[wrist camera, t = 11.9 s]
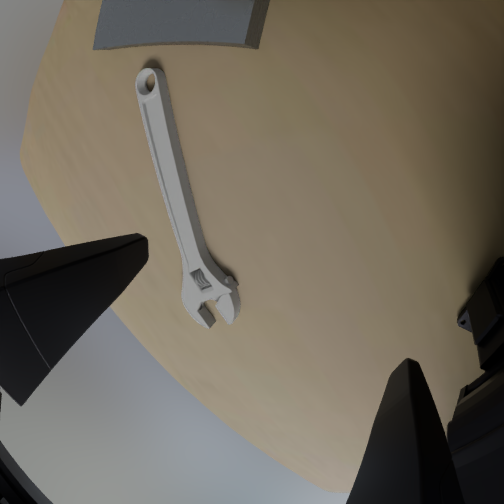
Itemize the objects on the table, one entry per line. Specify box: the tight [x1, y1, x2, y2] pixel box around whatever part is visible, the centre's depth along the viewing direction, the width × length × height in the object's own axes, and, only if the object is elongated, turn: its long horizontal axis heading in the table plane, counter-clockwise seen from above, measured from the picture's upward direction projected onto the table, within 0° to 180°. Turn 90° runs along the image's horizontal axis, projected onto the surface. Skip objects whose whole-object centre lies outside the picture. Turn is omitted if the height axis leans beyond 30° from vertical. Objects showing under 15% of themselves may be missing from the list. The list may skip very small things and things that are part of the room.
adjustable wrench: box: [135, 68, 240, 328], centre depth 23 cm, size 25×6×2 cm, turn 9°
